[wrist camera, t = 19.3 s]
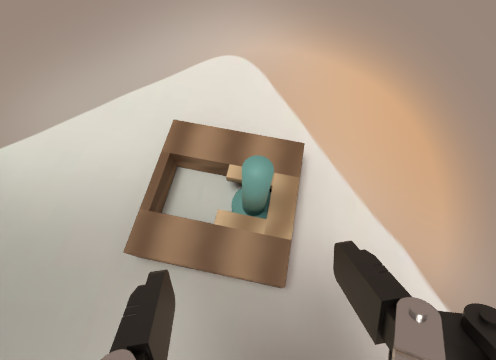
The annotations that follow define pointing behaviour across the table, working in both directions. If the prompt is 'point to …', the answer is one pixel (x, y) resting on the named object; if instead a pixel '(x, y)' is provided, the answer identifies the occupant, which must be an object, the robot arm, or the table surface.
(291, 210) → the keyhole plate
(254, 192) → the peg
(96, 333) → the table surface
